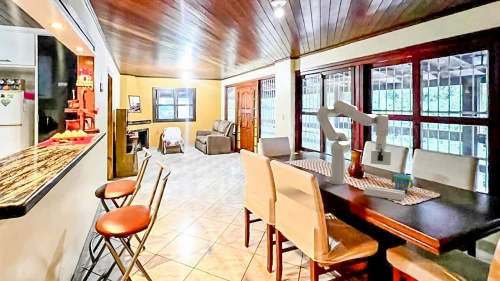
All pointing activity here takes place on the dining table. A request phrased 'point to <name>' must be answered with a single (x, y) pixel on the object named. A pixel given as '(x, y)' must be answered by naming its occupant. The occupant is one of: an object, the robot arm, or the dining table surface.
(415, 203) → the dining table surface
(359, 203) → the dining table surface
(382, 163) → the door panel
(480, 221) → the dining table surface
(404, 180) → the snack cup
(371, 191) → the track board
